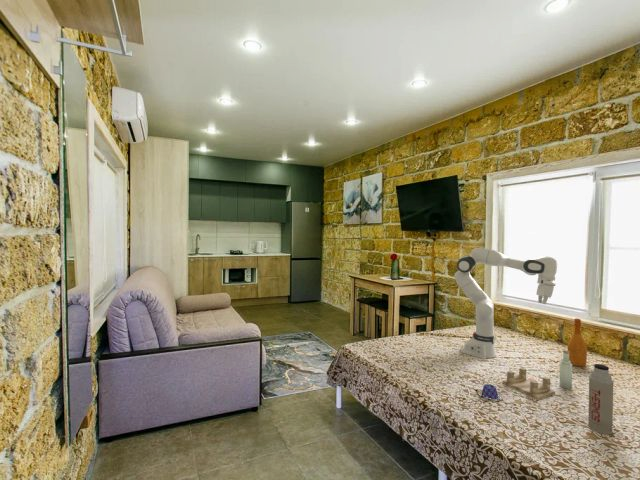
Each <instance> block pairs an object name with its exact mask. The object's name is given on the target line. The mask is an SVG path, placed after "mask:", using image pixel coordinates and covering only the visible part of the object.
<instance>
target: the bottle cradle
mask: <svg viewBox="0 0 640 480" xmlns="http://www.w3.org/2000/svg"><path fill="white" fill-rule="evenodd" d="M518 373H519V374H515V371H512V370H507V372H506V379H503V380H502V384H505V386H509V387H510V388H513V389H514V390H517V391H519V392H522V393H523V394H525V395H528V396H530V397H532V398H534V399H537V400H541V399H543V398H547V397H550V396H553V395H555V394H556V390H553V389H551V378H550V377H548V376H543V377H542V382H541V384H539V382H538V381H535V380H533V379H532V380H530V379H527V368H524V367H519V368H518Z"/></svg>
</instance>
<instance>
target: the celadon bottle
mask: <svg viewBox="0 0 640 480" xmlns="http://www.w3.org/2000/svg"><path fill="white" fill-rule="evenodd" d="M559 386H560V387H561V388H563V389H567V390H568V389H569V390H570V389H572V388H573V365H572V364H571V361H569V351H568V349H563V350H562V359H561V360H560V361H559Z"/></svg>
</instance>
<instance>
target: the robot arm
mask: <svg viewBox="0 0 640 480" xmlns="http://www.w3.org/2000/svg"><path fill="white" fill-rule="evenodd" d="M477 264H482V265H486V266H491V267H506V268H511V269H514V270H519V271H522V272H523V273H524V274H527V275H528V276H536V275H537V276H538V277H537V281H536V284H538V286H537V288H536V293H535V294H536V296H538V300H537V302H538V304H542V305H546V304H547V302H548V299H549V298H551V297H552V295H553V292H554V290H555V289H554V287H556V284H557V283H556V282H555V281H556V274H557V270H558V261H557V259H556V258H553V257H551V256H544V255H543V256H541V257H539V258H538V257H537V258H531V259H527V260H520V259H515V258H511V257H508V256H506V255H504V254H503V253H502V252H500V251H497V250H494V249H491V248H484V247H475V248H473V249H472V250H471V252H470V254H469V255H468V254H466V255H463V256H461V257H460V258H459V259H458V260H457V262H456V268H457V269H458V270H457V271H456V272H455V273H454V275H453V278H454V279H455V282H456V284H457V285H458V287H459V289H461V291H462V292H463V293H464V295H465V296H466V297H467V298H468V300H469V301H470V302H472V303H473V305H474V306H475V331H473V333H472V337H471V338H470V339H468V340H466V341H465V343H464V346H462V347H461V348H460V352H461V353H462V354H465V355H469V356H472V357H475V358H476V357H477V358H479V359H486V358H487V359H492V358H495V357H496V356H497V354H496V351H495V333H494V329H495V328H494V326H495V325H494V323H495V321H494V320H495V319H494V316H495V315H494V314H495V311H494V310H495V305H494V302H493V300H492V299H491V298H490V297H489V296H488V295H487V293H486V292H484V290H483V289H482V288H481V286H480V285H479V284H478V283H477V281H476V280H475V279H474V278H473V276H472V275H471V272H472V270H473V269H474V268H475V267H476V265H477Z"/></svg>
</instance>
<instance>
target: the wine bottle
mask: <svg viewBox="0 0 640 480" xmlns="http://www.w3.org/2000/svg"><path fill="white" fill-rule="evenodd" d="M573 322H574V330H573V333H572V335H571V337H570V339H569V341H568V344H567V351H569V361H571V364H572V366H576V367H586V365H587V362H588V361H587V357H588V349H587V345H586V341H585V340H584V337H583V334H582V332H581V325H582V320H581V319H580V318H574V321H573Z"/></svg>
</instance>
